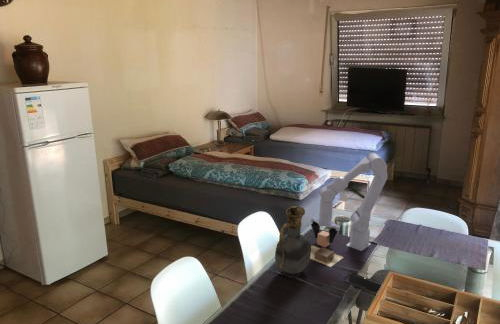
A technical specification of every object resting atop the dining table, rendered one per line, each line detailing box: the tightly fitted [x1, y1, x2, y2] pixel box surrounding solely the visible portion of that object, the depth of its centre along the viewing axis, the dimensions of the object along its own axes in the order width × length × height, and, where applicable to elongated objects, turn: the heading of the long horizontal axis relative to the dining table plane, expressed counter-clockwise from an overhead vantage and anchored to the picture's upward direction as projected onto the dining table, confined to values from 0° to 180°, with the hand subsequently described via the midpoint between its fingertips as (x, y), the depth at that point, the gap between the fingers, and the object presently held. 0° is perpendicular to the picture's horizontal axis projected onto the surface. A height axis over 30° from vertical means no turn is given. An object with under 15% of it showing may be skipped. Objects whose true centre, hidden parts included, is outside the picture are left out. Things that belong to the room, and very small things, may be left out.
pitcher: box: [274, 205, 312, 279], centre depth 159 cm, size 11×19×30 cm, turn 146°
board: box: [310, 245, 344, 268], centre depth 178 cm, size 11×16×1 cm
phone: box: [342, 272, 383, 295], centre depth 157 cm, size 8×1×15 cm
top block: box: [316, 230, 331, 248], centre depth 187 cm, size 4×4×6 cm
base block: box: [314, 246, 335, 263], centre depth 175 cm, size 6×6×3 cm
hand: (323, 240), depth 187 cm, fingers open, 7 cm apart
